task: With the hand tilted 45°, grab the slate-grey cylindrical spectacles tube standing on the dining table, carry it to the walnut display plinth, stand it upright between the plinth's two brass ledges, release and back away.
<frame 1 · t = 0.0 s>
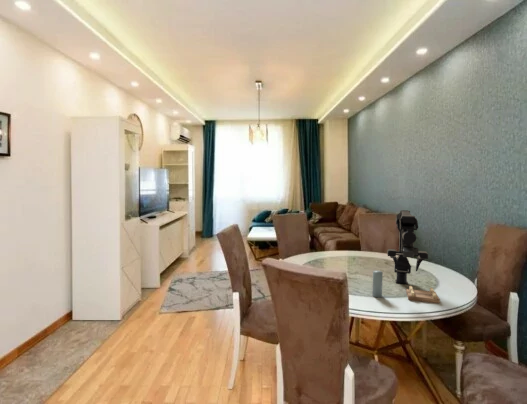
hand: (406, 270, 166), 14 cm above the table, tool pointing down, fingers open, 9 cm apart
spectacles tube: (377, 296, 170), on the table
display plinth: (422, 297, 167), on the table
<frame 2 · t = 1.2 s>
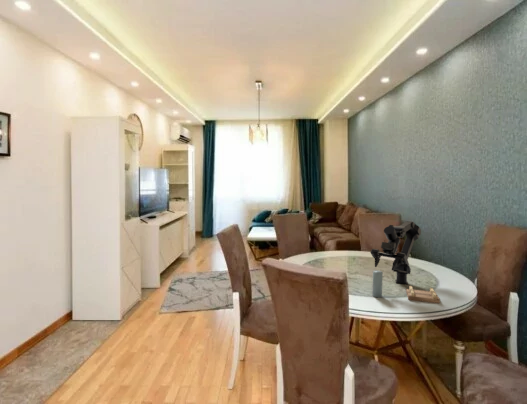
hand: (383, 268, 174), 13 cm above the table, tool tilted 45°, fingers open, 9 cm apart
nothing on the table moved.
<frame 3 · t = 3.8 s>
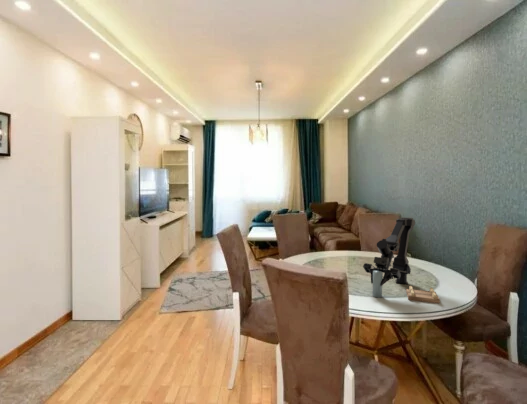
hand: (376, 284, 168), 7 cm above the table, tool tilted 45°, fingers closed on spectacles tube, 5 cm apart
spectacles tube: (377, 296, 170), on the table, touching gripper
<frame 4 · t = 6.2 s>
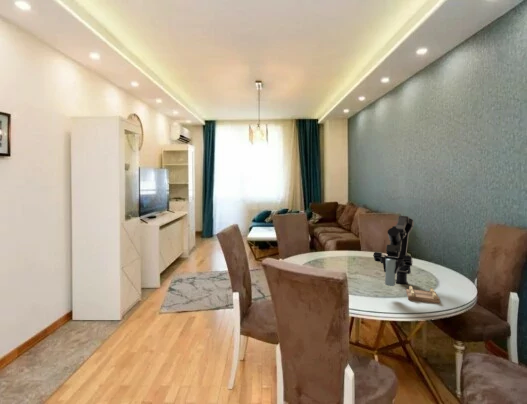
hand: (389, 272, 165), 14 cm above the table, tool tilted 45°, fingers closed on spectacles tube, 5 cm apart
spectacles tube: (390, 284, 167), point 7 cm above the table, touching gripper
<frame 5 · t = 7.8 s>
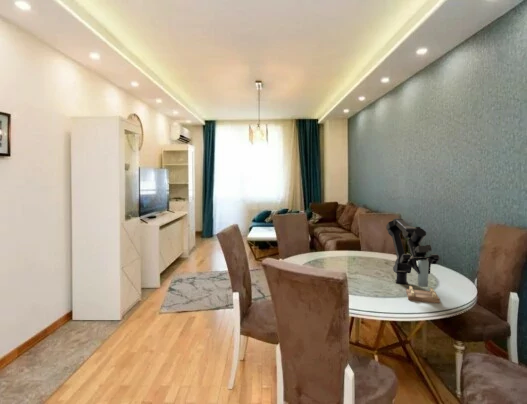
hand: (424, 273, 164), 13 cm above the table, tool tilted 45°, fingers closed on spectacles tube, 5 cm apart
spectacles tube: (422, 285, 166), point 7 cm above the table, touching gripper
when the fingers open (10 cm above the table, at t = 8.9 s): spectacles tube stays where it is, resting on display plinth.
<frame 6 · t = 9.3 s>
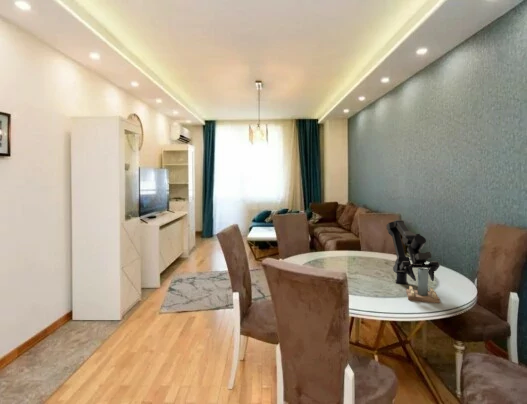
hand: (424, 280, 164), 10 cm above the table, tool tilted 45°, fingers open, 9 cm apart
spectacles tube: (422, 294, 166), point 2 cm above the table, touching display plinth
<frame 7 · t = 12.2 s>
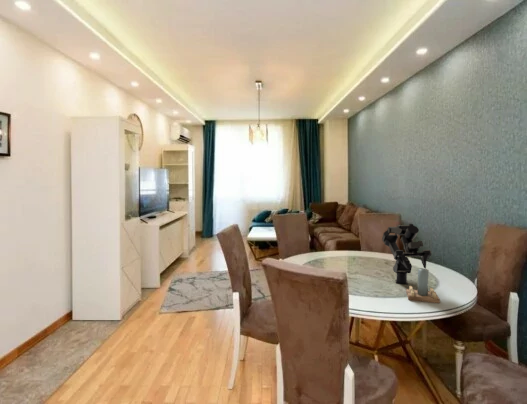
hand: (416, 268, 173), 14 cm above the table, tool tilted 45°, fingers open, 9 cm apart
nothing on the table moved.
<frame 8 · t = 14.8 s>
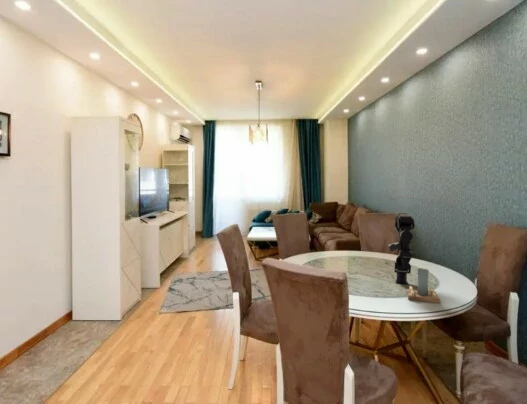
hand: (404, 266, 180), 13 cm above the table, tool pointing down, fingers open, 9 cm apart
nothing on the table moved.
at the end: spectacles tube 0.5 cm off-centre on the display plinth, point 2.0 cm above the display plinth's base; spectacles tube tilted 0°; the gripper is holding nothing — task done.
